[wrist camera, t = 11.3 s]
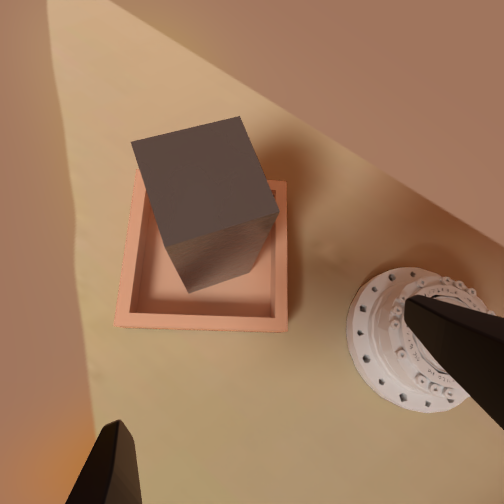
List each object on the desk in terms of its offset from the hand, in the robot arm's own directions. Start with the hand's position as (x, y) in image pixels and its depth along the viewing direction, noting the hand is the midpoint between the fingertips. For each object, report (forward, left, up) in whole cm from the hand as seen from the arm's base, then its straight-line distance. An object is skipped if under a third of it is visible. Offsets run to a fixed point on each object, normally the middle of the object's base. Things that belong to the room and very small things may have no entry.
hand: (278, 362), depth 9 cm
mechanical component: (+1, -13, -13) cm, 18 cm away
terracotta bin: (+7, +3, -13) cm, 15 cm away
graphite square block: (+7, +3, -12) cm, 14 cm away
